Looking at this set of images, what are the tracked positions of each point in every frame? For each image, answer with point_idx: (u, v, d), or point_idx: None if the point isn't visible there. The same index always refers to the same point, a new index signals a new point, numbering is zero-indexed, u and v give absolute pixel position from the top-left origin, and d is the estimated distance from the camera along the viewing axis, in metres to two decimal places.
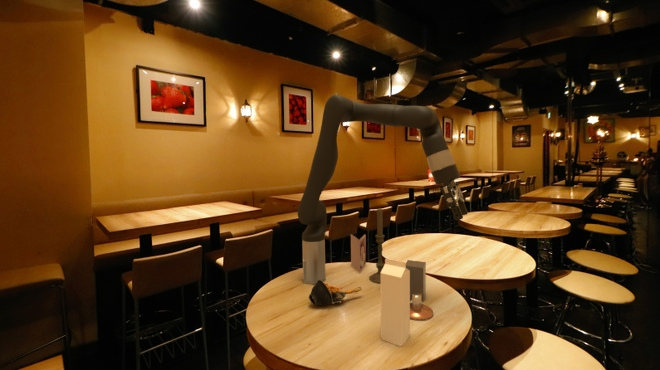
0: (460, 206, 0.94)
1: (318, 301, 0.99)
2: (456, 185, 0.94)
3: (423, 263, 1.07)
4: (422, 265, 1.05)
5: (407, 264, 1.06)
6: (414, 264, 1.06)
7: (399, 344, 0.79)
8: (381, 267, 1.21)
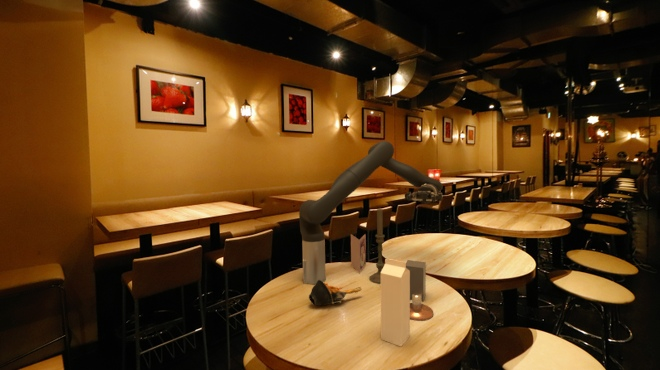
0: (411, 197, 1.18)
1: (318, 301, 0.99)
2: None
3: (423, 263, 1.07)
4: (422, 265, 1.05)
5: (407, 264, 1.06)
6: (414, 264, 1.06)
7: (399, 344, 0.79)
8: (381, 267, 1.21)
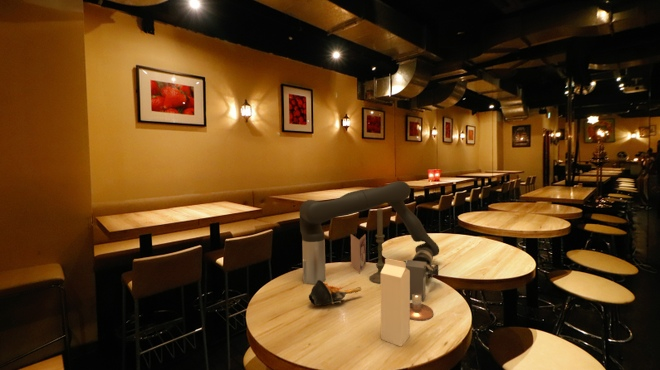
0: None
1: (317, 301, 0.99)
2: None
3: (423, 263, 1.07)
4: (422, 265, 1.05)
5: (407, 264, 1.06)
6: (414, 264, 1.06)
7: (399, 344, 0.79)
8: (381, 267, 1.21)
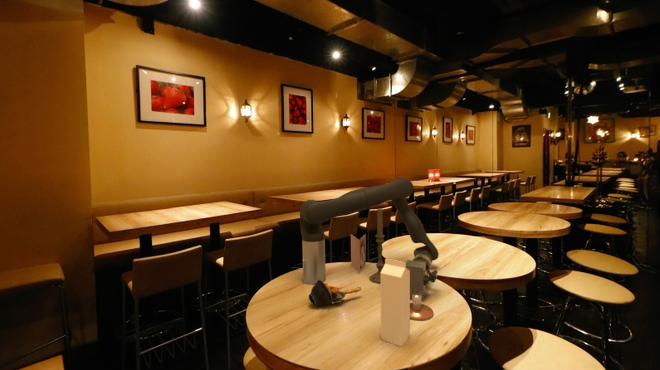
0: None
1: (317, 301, 0.99)
2: None
3: (423, 263, 1.07)
4: (422, 265, 1.05)
5: (407, 264, 1.06)
6: (414, 264, 1.06)
7: (399, 344, 0.79)
8: (381, 267, 1.21)
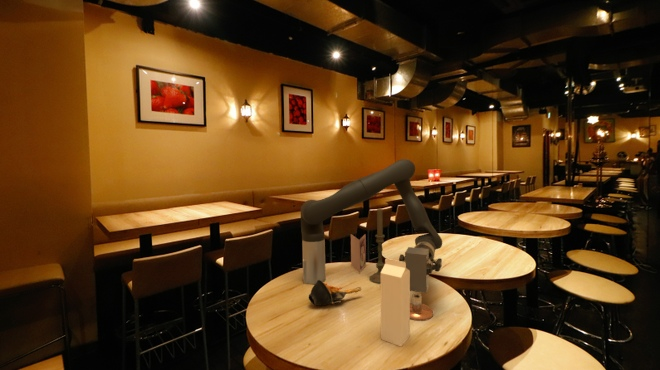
0: None
1: (317, 301, 0.99)
2: None
3: (426, 250, 0.95)
4: (425, 252, 0.93)
5: (408, 251, 0.94)
6: (416, 251, 0.94)
7: (399, 344, 0.79)
8: (381, 267, 1.21)
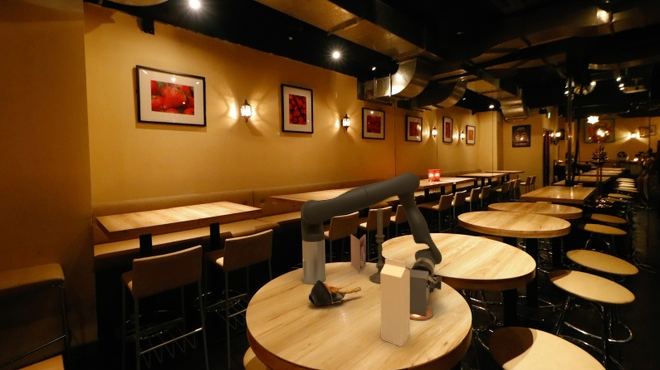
0: None
1: (317, 301, 0.99)
2: None
3: (426, 273, 0.95)
4: (425, 275, 0.93)
5: None
6: (416, 274, 0.95)
7: (399, 344, 0.79)
8: (381, 267, 1.21)
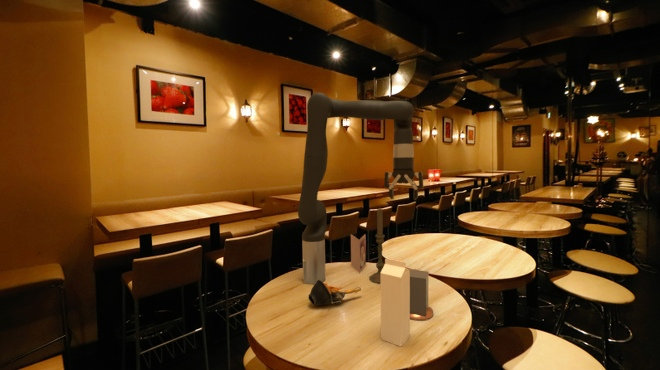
0: (393, 191, 1.15)
1: (317, 301, 0.99)
2: None
3: (426, 273, 0.95)
4: (425, 275, 0.93)
5: None
6: (416, 274, 0.95)
7: (399, 344, 0.79)
8: (381, 267, 1.21)
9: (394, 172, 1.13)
